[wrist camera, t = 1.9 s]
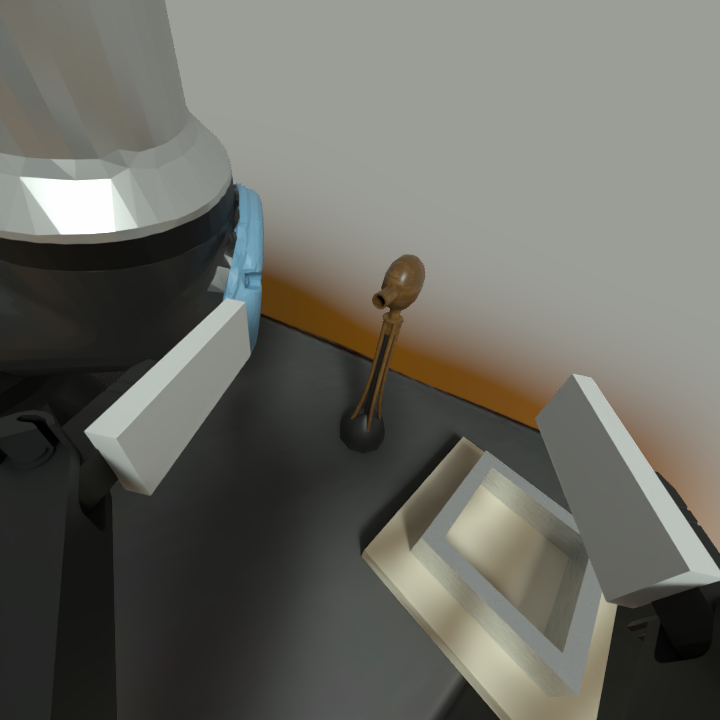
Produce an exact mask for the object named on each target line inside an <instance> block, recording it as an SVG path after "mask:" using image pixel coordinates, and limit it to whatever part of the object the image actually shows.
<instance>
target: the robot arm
mask: <svg viewBox="0 0 720 720" xmlns="http://www.w3.org/2000/svg"><path fill="white" fill-rule="evenodd" d="M263 229H264V228H263V212H262V203H261V199H260V197H259V195H258V194H257V193H256V192H255V191H254V190H252V189H248V188H246V187H245V186H242V185H241V184H238V183H237V184H235V185H233V179H232V170H231V164H230V159H229V157H228V154H227V151H226V150H225V148H224V146H223V145H222V143H221V142H220V141H219V140H218V138H217V137H216V136H215V135H214V134H213V133H211V132H210V131H209V130H208V129H207V128H206V127H205V126H204V125H203V124H202V123H201V122H200V121H199V120H198V119H197V118H195V117H194V116H193V115H192V114H191V113H190V112H189V110H188V108H187V107H186V103H185V98H184V93H183V88H182V83H181V79H180V74H179V69H178V64H177V59H176V54H175V49H174V44H173V39H172V35H171V29H170V25H169V20H168V15H167V10H166V5H165V0H0V720H117V708H116V665H115V621H114V577H113V533H112V496H111V493H110V488H111V487H112V486H113V485H114V484H115V482H116V481H117V480H118V481H119V482H120V483H121V485H122V486H123V488H124V489H125V490H128V491H132V492H137V493H141V494H145V495H150V496H151V495H152V493H153V492H154V490H155V489H156V488H157V486H158V485H159V483H160V482H161V481H162V479H163V478H164V476H165V475H166V474H167V472H168V471H169V469H170V468H171V467H172V465H173V464H174V462H175V461H176V460H177V458H178V457H179V455H180V454H181V453H182V451H183V450H184V448H185V447H186V446H187V444H188V443H189V441H190V440H191V439H192V437H193V436H194V434H195V433H196V432H197V430H198V429H199V427H200V426H201V425H202V423H203V422H204V420H205V419H206V417H207V416H208V415H209V413H210V412H211V410H212V409H213V408H214V406H215V405H216V403H217V402H218V401H219V399H220V398H221V396H222V395H223V394H224V392H225V391H226V389H227V388H228V387H229V385H230V384H231V382H232V381H233V380H234V378H235V377H236V375H237V374H238V373H239V371H240V370H241V368H242V367H243V366H244V364H245V363H246V361H247V360H248V359H249V357H250V356H251V353H252V351H253V349H254V347H255V344H256V341H257V336H258V330H259V322H260V311H261V296H262V285H261V278H262V267H263V256H264V255H263V254H264V231H263ZM115 371H126V372H125V373H124V374H123V375H122V376H120V377H119V378H118V379H117V382H114V383H112V384H111V385H110V386H109V387H107V386H106V385H105V384H104V383H103V382H101V381H100V380H98V379H97V378H96V377H94V376H93V375H91V374H90V373H97V372H115ZM535 419H536V422H537V424H538V427H539V430H540V432H541V435H542V437H543V440H544V442H545V445H546V448H547V450H548V453H549V455H550V458H551V461H552V463H553V466H554V468H555V471H556V474H557V476H558V479H559V481H560V484H561V486H562V489H563V492H564V494H565V497H566V499H567V502H568V505H569V507H570V510H571V512H572V515H573V517H574V520H575V523H576V525H577V528H578V530H579V533H580V536H581V538H582V541H583V543H584V546H585V548H586V551H587V554H588V556H589V559H590V561H591V564H592V567H593V569H594V572H595V574H596V577H597V579H598V582H599V585H600V587H601V590H602V592H603V595H604V598H605V600H606V602H609V603H613V604H617V605H622V606H626V607H630V608H636V607H639V606H642V605H645V604H649V603H652V605H653V607H654V609H655V611H656V613H657V615H653V616H650V617H646V618H643V619H639V620H636V621H632V622H630V624H629V625H628V628H629V629H630V630H631V631H634V630H638V629H642V628H646V631H645V634H643V635H640V636H638V638H639V639H641V640H642V641H643V644H642V648H641V652H640V656H639V661H638V665H637V669H636V673H635V678H634V682H633V686H632V690H631V694H630V699H629V703H628V707H627V711H626V716H625V720H720V553H719V552H718V550H717V549H716V547H715V546H714V545H713V543H712V542H711V540H710V539H709V537H708V536H707V534H706V533H705V532H704V530H703V529H702V527H701V526H699V525H698V524H697V520H696V519H695V517H694V516H693V514H692V513H691V511H689V510H687V506H686V504H685V503H684V501H683V500H682V498H681V497H680V495H679V494H678V493H677V491H676V490H675V489H674V488H673V487H672V486H671V485H670V484H669V483H668V482H667V481H666V480H665V479H664V478H663V477H662V476H661V475H660V474H659V473H658V472H655V471H653V469H652V468H651V466H650V465H649V463H648V462H647V460H646V459H645V457H644V456H643V454H642V453H641V451H640V450H639V448H638V447H637V445H636V444H635V442H634V441H633V439H632V438H631V436H630V435H629V433H628V432H627V430H626V429H625V427H624V426H623V424H622V423H621V421H620V420H619V418H618V417H617V415H616V414H615V412H614V411H613V409H612V408H611V406H610V405H609V403H608V402H607V400H606V399H605V397H604V396H603V394H602V393H601V391H600V390H599V388H598V387H597V385H596V383H595V382H594V381H593V379H592V378H590V377H585V376H581V375H576V374H572V375H571V376H570V377H569V378H568V379H567V381H566V382H565V383H564V384H563V386H562V387H561V388H560V389H559V390H558V392H557V393H556V394H555V395H554V396H553V398H552V399H551V400H550V401H549V403H548V404H547V405H546V406H545V407H544V408H543V410H542V411H541V412H540V413H539V415H538V416H537V417H536V418H535Z"/></svg>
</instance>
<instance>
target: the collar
mask: <svg viewBox="0 0 720 720" xmlns="http://www.w3.org/2000/svg"><path fill="white" fill-rule="evenodd" d="M480 485H481V486H483V487H484V488H485V489H486V490H487V491H489V492H490V493H491V494H492V495H494V496H495V497H496V498H497V499H498V500H500V501H501V502H502V503H503V504H505V505H506V506H507V507H508V508H510V509H511V510H512V511H513V512H514V513H516V514H517V515H518V516H519V517H521V518H522V519H523V520H524V521H525V522H527V523H528V524H529V525H530V526H532V527H533V528H534V529H535V530H536V531H538V532H539V533H540V534H541V535H543V536H544V537H545V538H546V539H547V540H549V541H550V542H551V543H552V544H554V545H555V546H556V547H557V548H558V549H560V550H561V551H562V552H563V553H565V554H566V555H567V556H568V557H569V559H568V562H567V565H566V568H565V571H564V574H563V578H562V581H561V584H560V587H559V590H558V593H557V596H556V599H555V602H554V605H553V608H552V611H551V614H550V617H549V620H548V623H547V626H546V629H545V632H544V635H543V634H542V633H541V632H540V631H539V630H538V629H537V628H536V627H535V626H534V625H533V624H532V623H531V622H530V621H529V620H527V619H526V618H525V617H524V616H523V615H522V614H521V613H520V612H519V611H518V610H517V609H516V608H515V607H514V606H513V605H512V604H511V603H510V602H509V601H508V600H507V599H506V598H505V597H504V596H503V595H502V594H501V593H500V592H499V591H497V590H496V589H495V588H494V587H493V586H492V585H491V584H490V583H489V582H488V581H487V580H486V579H485V578H484V577H483V576H482V575H481V574H480V573H479V572H478V571H477V570H476V569H475V568H474V567H473V566H472V565H471V564H470V563H469V562H467V561H466V560H465V559H464V558H463V557H462V556H461V555H460V554H459V553H458V552H457V551H456V550H455V549H454V548H453V547H452V546H451V545H450V544H449V543H448V542H447V541H446V540H445V539H444V537H445V536H446V534H447V533H448V531H449V530H450V528H451V527H452V525H453V524H454V523H455V521H456V520H457V518H458V517H459V515H460V514H461V512H462V511H463V509H464V508H465V506H466V505H467V504H468V502H469V501H470V499H471V498H472V496H473V495H474V493H475V492H476V490H477V489H478V488H479V486H480ZM410 552H411V553H412V554H413V555H414V556H415V558H416V559H417V560H418V561H419V562H420V563H421V564H422V565H423V566H424V567H425V568H426V569H427V570H428V571H429V572H430V573H431V574H432V575H433V577H434V578H435V579H436V580H437V581H438V582H439V583H440V584H441V585H442V586H443V587H444V588H445V589H446V590H447V591H448V592H449V593H450V594H451V595H452V597H453V598H454V599H455V600H456V601H457V602H458V603H459V604H460V605H461V606H462V607H463V608H464V609H465V610H466V611H467V612H468V613H469V614H470V615H471V617H472V618H473V619H474V620H475V621H476V622H477V623H478V624H479V625H480V626H481V627H482V628H483V629H484V630H485V631H486V632H487V633H488V634H489V635H490V637H491V638H492V639H493V640H494V641H495V642H496V643H497V644H498V645H499V646H500V647H501V648H502V649H503V650H504V651H505V652H506V653H507V654H508V656H509V657H510V658H511V659H512V660H513V661H514V662H515V663H516V664H517V665H518V666H519V667H520V668H521V669H522V670H523V671H524V672H525V673H526V674H527V676H528V677H529V678H530V679H531V680H532V681H533V682H534V683H535V684H536V685H537V686H538V687H539V688H540V689H541V690H542V691H543V692H544V693H545V694H546V696H547V697H571V696H579V693H580V688H581V684H582V680H583V675H584V671H585V666H586V662H587V657H588V653H589V648H590V644H591V639H592V635H593V630H594V626H595V621H596V617H597V612H598V608H599V603H600V599H601V594H602V590H601V587H600V585H599V582H598V579H597V577H596V574H595V572H594V569H593V567H592V564H591V561H590V559H589V556H588V554H587V551H586V548H585V546H584V543H583V541H582V538H581V536H580V533H579V530H578V528H577V525H576V523H575V520H574V517H573V515H571V514H570V513H569V512H567V511H566V510H565V509H563V508H562V507H561V506H559V505H558V504H557V503H555V502H554V501H553V500H551V499H550V498H549V497H547V496H546V495H545V494H543V493H542V492H541V491H539V490H538V489H537V488H535V487H534V486H533V485H531V484H530V483H529V482H527V481H526V480H525V479H523V478H522V477H521V476H519V475H518V474H517V473H516V472H514V471H513V470H512V469H510V468H509V467H508V466H506V465H505V464H504V463H502V462H501V461H500V460H498V459H497V458H496V457H494V456H493V455H492V454H490V453H489V452H488V451H485V453H484V454H483V455H482V456H481V458H480V459H479V460H478V462H477V463H476V464H475V465H474V467H473V468H472V469H471V471H470V472H469V473H468V475H467V476H466V477H465V479H464V480H463V481H462V483H461V484H460V485H459V487H458V488H457V489H456V491H455V492H454V493H453V495H452V496H451V497H450V499H449V500H448V501H447V503H446V504H445V505H444V507H443V508H442V509H441V511H440V512H439V513H438V515H437V516H436V517H435V519H434V520H433V521H432V523H431V524H430V525H429V527H428V528H427V529H426V531H425V532H424V533H423V535H422V536H421V537H420V539H419V540H418V541H417V543H416V544H415V545H414V547H413V548H412V549H411V551H410Z"/></svg>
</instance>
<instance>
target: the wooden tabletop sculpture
mask: <svg viewBox="0 0 720 720" xmlns="http://www.w3.org/2000/svg"><path fill="white" fill-rule="evenodd" d="M424 279H425V269H424V265H423V263H422V262H421V261H420V259H419V258H418V257H416V256H414V255H403V256H401V257H400V258H398V259H397V260H395V261H394V262H393V263H392V264H391V266H390V267H389V269H388V270H387V272H386V274H385V277H384V281H383V284H382V287H381V288H382V290H381V291H379V292H378V293H376V294H375V295H374V296H373V298H372V301H373V304H374V306H375V307H376V308H378V309H384V308H385V307H386V306H387V307H389V308H390V312H387V313H385V314H384V315H383V320H384V321H383V325H382V330H381V333H380V337H379V342H378V345H377V349H376V353H375V357H374V360H373V364H372V367H371V371H370V375H369V378H368V381H367V384H366V387H365V390H364V392H363V395H362V397H361V399H360V402H359V404H358V406H357V408H353V409H352V410H351V411H350V412H349V413H348V414H347V415H346V416H345V417H344V418H343V420H342V422H341V432H340V438H341V439H342V441H343V442H344V443H345V444H346V446H347V447H348V448H349V449H352V450H355V451H358V452H361V453H366V452H370V451H374V450H376V449H377V448H378V446H379V445H380V444H381V442H382V441H383V439H384V433H385V431H384V423H383V419H382V417H381V403H382V396H383V390H384V385H385V381H386V376H387V373H388V369H389V365H390V362H391V358H392V355H393V351H394V348H395V345H396V341H397V338H398V335H399V331H400V328H401V325H402V323H403V317H402V316H400V312H401V310H403V309H406V308H407V307H409V306H410V305H411V304H412V303H413V302H414V301H415V300H416V299H417V297H418V295H419V293H420V291H421V289H422V287H423V283H424ZM386 361H387V362H386ZM383 372H384V373H383ZM382 376H383V377H382ZM381 379H382V382H381ZM370 383H371V384H370ZM380 383H381V387H380ZM369 386H370V388H369ZM379 387H380V392H379V399H378V413H377V412H376V411H375V410H374V407H375V403H376V398H377V395H378V391H379ZM368 389H369V392H368ZM367 392H368V395H367V398H366V401H365V403H364V406H363V407H361V406H362V404H363V401H364V399H365V397H366V394H367Z"/></svg>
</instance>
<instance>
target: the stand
mask: <svg viewBox="0 0 720 720" xmlns="http://www.w3.org/2000/svg"><path fill="white" fill-rule="evenodd" d="M484 453H485V452H483V451H482V450H481V449H479V448H478V447H477V446H475V445H474V444H473V443H471V442H470V441H469V440H467V439H466V438H465V437H463V438H462V439H461V440H460V441H459V442H458V443H457V444H456V446H455V447H454V448H453V449H452V450H451V451H450V452H449V454H448V455H447V456H446V457H445V458H444V459H443V460H442V462H441V463H440V464H439V465H438V466H437V467H436V468H435V470H434V471H433V472H432V473H431V474H430V475H429V477H428V478H427V479H426V480H425V481H424V482H423V483H422V485H421V486H420V487H419V488H418V489H417V490H416V491H415V493H414V494H413V495H412V496H411V497H410V498H409V499H408V501H407V502H406V503H405V504H404V505H403V506H402V507H401V509H400V510H399V511H398V512H397V513H396V514H395V515H394V517H393V518H392V519H391V520H390V521H389V522H388V523H387V525H386V526H385V527H384V528H383V529H382V530H381V531H380V533H379V534H378V535H377V536H376V537H375V538H374V539H373V541H372V542H371V543H370V544H369V545H368V546H367V548H366V549H365V550H364V552H363V554H362V556H361V557H362V558H363V559H364V560H365V561H366V563H367V564H368V565H369V566H370V567H371V568H372V570H373V571H374V572H375V573H376V574H377V576H378V577H379V578H380V579H381V580H382V581H383V583H384V584H385V585H386V586H387V587H388V588H389V590H390V591H391V592H392V593H393V594H394V595H395V597H396V598H397V599H398V600H399V601H400V602H401V604H402V605H403V606H404V607H405V608H406V609H407V611H408V612H409V613H410V614H411V615H412V616H413V618H414V619H415V620H416V621H417V622H418V624H419V625H420V626H421V627H422V628H423V629H424V631H425V632H426V633H427V634H428V635H429V636H430V638H431V639H432V640H433V641H434V642H435V643H436V645H437V646H438V647H439V648H440V649H441V650H442V652H443V653H444V654H445V655H446V656H447V657H448V659H449V660H450V661H451V662H452V663H453V665H454V666H455V667H456V668H457V669H458V670H459V672H460V673H461V674H462V675H463V676H464V677H465V679H466V680H467V681H468V682H469V683H470V684H471V686H472V687H473V688H474V689H475V690H476V691H477V693H478V694H479V695H480V696H481V697H482V698H483V700H484V701H485V702H486V703H487V704H488V705H489V707H490V708H491V709H492V710H493V711H494V713H495V714H496V715H497V716H498V717H499V718H500V720H596V719H597V713H598V708H599V702H600V696H601V691H602V685H603V680H604V674H605V669H606V663H607V658H608V652H609V647H610V641H611V636H612V630H613V625H614V619H615V614H616V608H617V604H613V603H609V602H606V600H605V598H604V595H603V592H602V594H601V599H600V603H599V608H598V612H597V617H596V621H595V626H594V630H593V635H592V639H591V644H590V648H589V653H588V657H587V662H586V666H585V671H584V675H583V680H582V684H581V688H580V693H579V696H571V697H547V696H546V694H545V693H544V692H543V691H542V690H541V689H540V688H539V687H538V686H537V685H536V684H535V683H534V682H533V681H532V680H531V679H530V678H529V677H528V676H527V674H526V673H525V672H524V671H523V670H522V669H521V668H520V667H519V666H518V665H517V664H516V663H515V662H514V661H513V660H512V659H511V658H510V657H509V656H508V654H507V653H506V652H505V651H504V650H503V649H502V648H501V647H500V646H499V645H498V644H497V643H496V642H495V641H494V640H493V639H492V638H491V637H490V635H489V634H488V633H487V632H486V631H485V630H484V629H483V628H482V627H481V626H480V625H479V624H478V623H477V622H476V621H475V620H474V619H473V618H472V617H471V615H470V614H469V613H468V612H467V611H466V610H465V609H464V608H463V607H462V606H461V605H460V604H459V603H458V602H457V601H456V600H455V599H454V598H453V597H452V595H451V594H450V593H449V592H448V591H447V590H446V589H445V588H444V587H443V586H442V585H441V584H440V583H439V582H438V581H437V580H436V579H435V578H434V577H433V575H432V574H431V573H430V572H429V571H428V570H427V569H426V568H425V567H424V566H423V565H422V564H421V563H420V562H419V561H418V560H417V559H416V558H415V556H414V555H413V554H412V553H411V552H410V551H411V549H412V548H413V547H414V545H415V544H416V543H417V541H418V540H419V539H420V537H421V536H422V535H423V533H424V532H425V531H426V529H427V528H428V527H429V525H430V524H431V523H432V521H433V520H434V519H435V517H436V516H437V515H438V513H439V512H440V511H441V509H442V508H443V507H444V505H445V504H446V503H447V501H448V500H449V499H450V497H451V496H452V495H453V493H454V492H455V491H456V489H457V488H458V487H459V485H460V484H461V483H462V481H463V480H464V479H465V477H466V476H467V475H468V473H469V472H470V471H471V469H472V468H473V467H474V465H475V464H476V463H477V462H478V460H479V459H480V458H481V456H482V455H483V454H484ZM444 539H445V540H446V541H447V542H448V543H449V544H450V545H451V546H452V547H453V548H454V549H455V550H456V551H457V552H458V553H459V554H460V555H461V556H462V557H463V558H464V559H465V560H466V561H467V562H469V563H470V564H471V565H472V566H473V567H474V568H475V569H476V570H477V571H478V572H479V573H480V574H481V575H482V576H483V577H484V578H485V579H486V580H487V581H488V582H489V583H490V584H491V585H492V586H493V587H494V588H495V589H496V590H497V591H499V592H500V593H501V594H502V595H503V596H504V597H505V598H506V599H507V600H508V601H509V602H510V603H511V604H512V605H513V606H514V607H515V608H516V609H517V610H518V611H519V612H520V613H521V614H522V615H523V616H524V617H525V618H526V619H527V620H529V621H530V622H531V623H532V624H533V625H534V626H535V627H536V628H537V629H538V630H539V631H540V632H541V633H542V634H543V635H544V632H545V629H546V626H547V623H548V620H549V617H550V614H551V611H552V608H553V605H554V602H555V599H556V596H557V593H558V590H559V587H560V584H561V581H562V578H563V574H564V571H565V568H566V565H567V562H568V559H569V557H568V556H567V555H566V554H565V553H563V552H562V551H561V550H560V549H558V548H557V547H556V546H555V545H554V544H552V543H551V542H550V541H549V540H547V539H546V538H545V537H544V536H543V535H541V534H540V533H539V532H538V531H536V530H535V529H534V528H533V527H532V526H530V525H529V524H528V523H527V522H525V521H524V520H523V519H522V518H521V517H519V516H518V515H517V514H516V513H514V512H513V511H512V510H511V509H510V508H508V507H507V506H506V505H505V504H503V503H502V502H501V501H500V500H498V499H497V498H496V497H495V496H494V495H492V494H491V493H490V492H489V491H487V490H486V489H485V488H484V487H483V486H481V485H480V486H479V488H478V489H477V490H476V492H475V493H474V495H473V496H472V498H471V499H470V501H469V502H468V504H467V505H466V506H465V508H464V509H463V511H462V512H461V514H460V515H459V517H458V518H457V520H456V521H455V523H454V524H453V525H452V527H451V528H450V530H449V531H448V533H447V534H446V536H445V537H444Z"/></svg>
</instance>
